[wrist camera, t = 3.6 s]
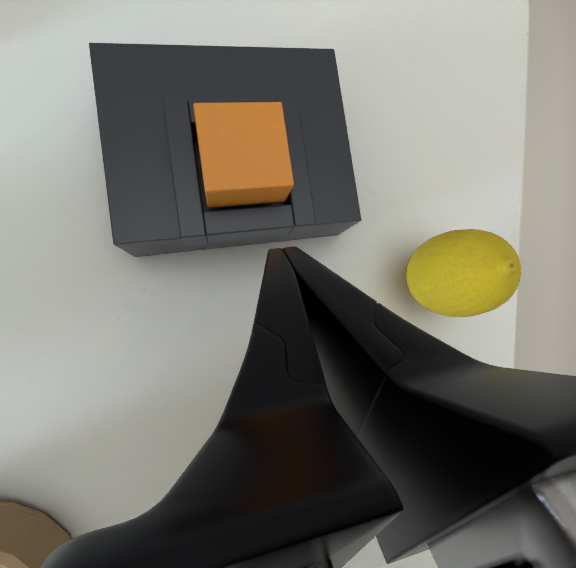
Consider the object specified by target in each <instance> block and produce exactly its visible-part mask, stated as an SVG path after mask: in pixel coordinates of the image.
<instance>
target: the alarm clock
mask: <svg viewBox="0 0 576 568" xmlns="http://www.w3.org/2000/svg"><path fill="white" fill-rule="evenodd" d="M69 540H71V539H70V537H69V535H68V533H67V532H66V531H64V530H63V529H62V528H61V527H60V526H59V525H57V524H56V523H55V522H54V521H53V520H51V519H50V518H49V517H48V516H47V515H46V514H44V513H42V512H39V511H36V510H33V509H31V508H28V507H25V506H22V505H19V504H16V503H14V502H0V568H40V567H41V565H42V564H43V562H44V561H45V559H46V558H47V557H48V556H49V554H50V553H52V552H53V551H54V550H55V549H56V548H57V547H59V546H60V545H62V544H64V543H65V542H67V541H69Z"/></svg>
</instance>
